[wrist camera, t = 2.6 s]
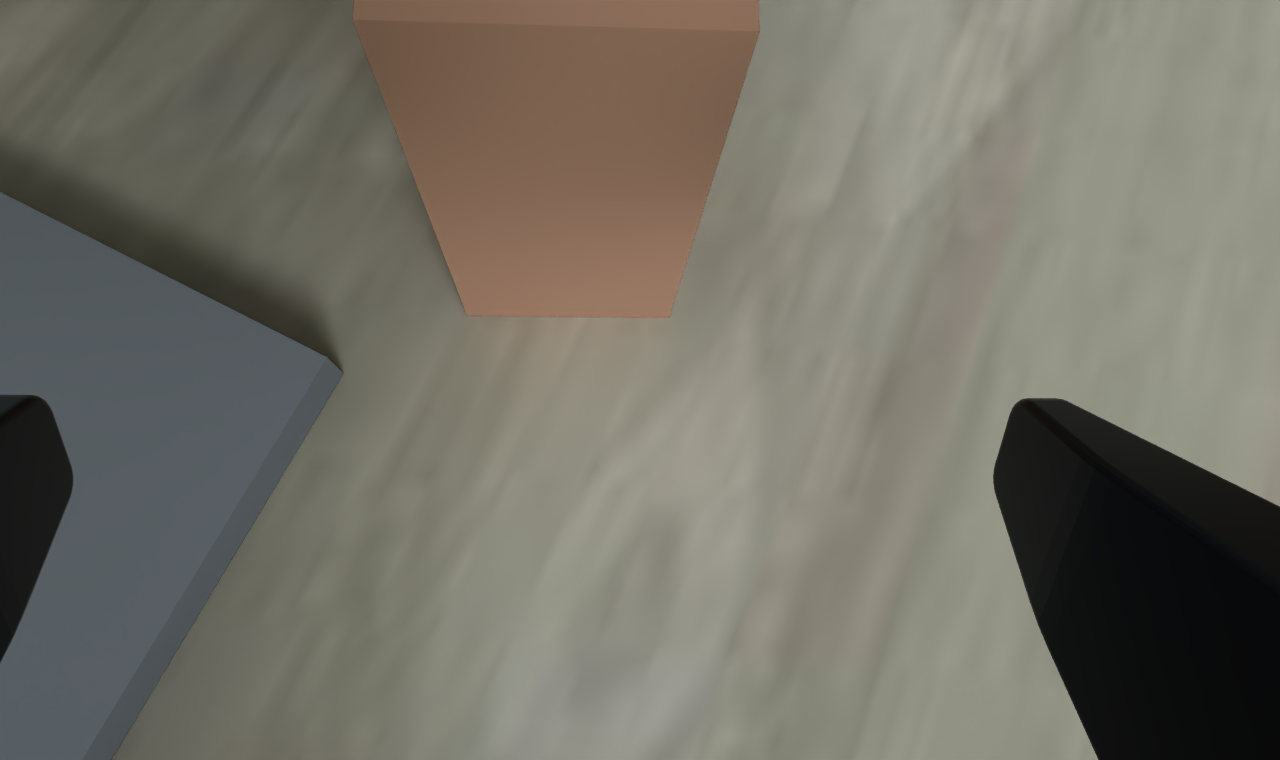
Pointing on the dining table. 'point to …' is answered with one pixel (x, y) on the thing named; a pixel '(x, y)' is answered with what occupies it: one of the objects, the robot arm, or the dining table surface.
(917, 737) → the dining table surface
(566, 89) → the terracotta block
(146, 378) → the slate board
